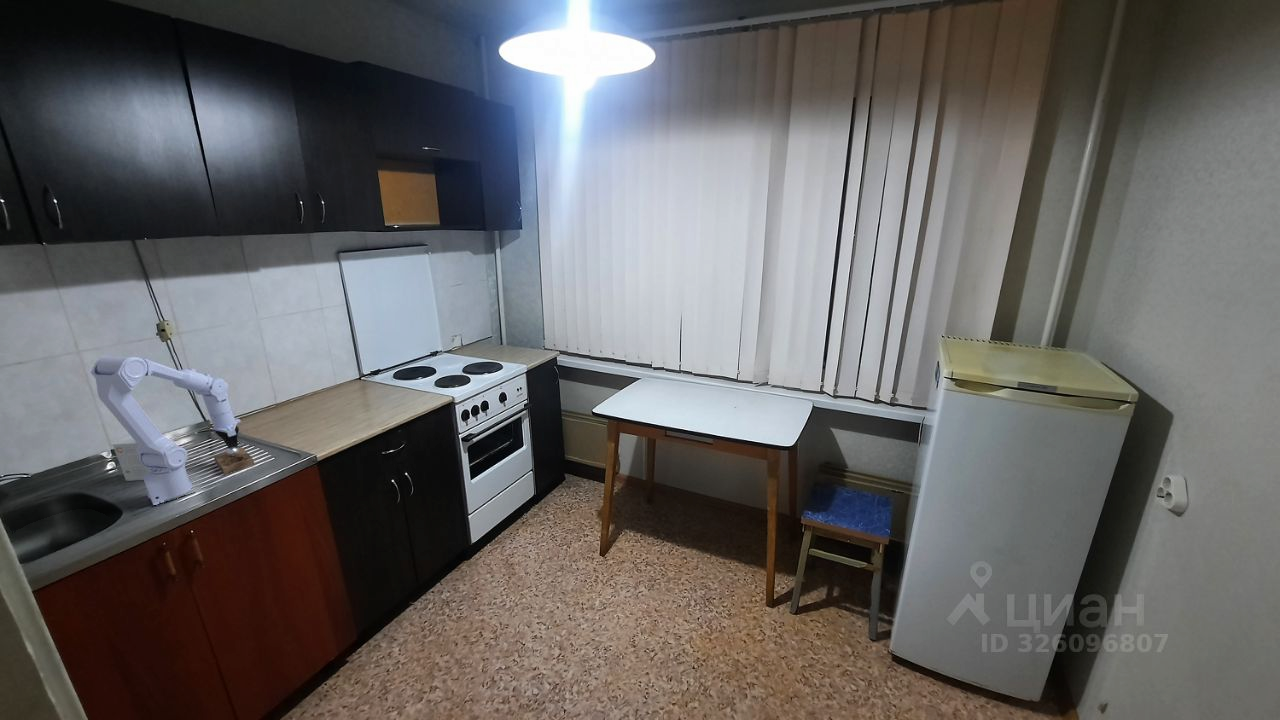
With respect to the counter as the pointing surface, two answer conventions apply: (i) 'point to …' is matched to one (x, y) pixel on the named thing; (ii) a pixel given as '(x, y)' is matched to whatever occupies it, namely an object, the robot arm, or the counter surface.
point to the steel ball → (232, 451)
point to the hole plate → (233, 461)
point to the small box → (130, 459)
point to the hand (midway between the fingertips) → (233, 448)
